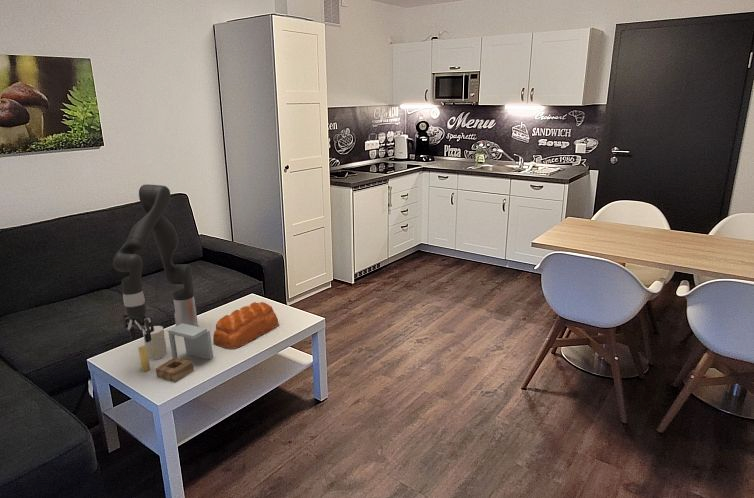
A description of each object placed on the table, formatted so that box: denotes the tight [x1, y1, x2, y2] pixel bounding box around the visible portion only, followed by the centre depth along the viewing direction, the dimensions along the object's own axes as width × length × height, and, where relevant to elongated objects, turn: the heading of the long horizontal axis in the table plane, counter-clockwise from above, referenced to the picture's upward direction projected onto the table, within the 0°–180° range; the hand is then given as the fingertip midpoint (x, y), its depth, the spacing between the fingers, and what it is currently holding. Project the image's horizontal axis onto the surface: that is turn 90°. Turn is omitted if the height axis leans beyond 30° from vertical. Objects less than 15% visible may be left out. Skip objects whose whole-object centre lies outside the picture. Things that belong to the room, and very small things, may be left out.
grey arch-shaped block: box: [167, 323, 214, 361], centre depth 212 cm, size 14×9×14 cm, turn 64°
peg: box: [138, 345, 151, 373], centre depth 206 cm, size 3×3×10 cm
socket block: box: [155, 357, 195, 383], centre depth 203 cm, size 10×10×4 cm
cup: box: [142, 325, 168, 361], centre depth 217 cm, size 8×8×12 cm
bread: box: [212, 301, 279, 349], centre depth 236 cm, size 16×31×13 cm, turn 148°
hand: (140, 339), depth 203 cm, fingers open, 8 cm apart
